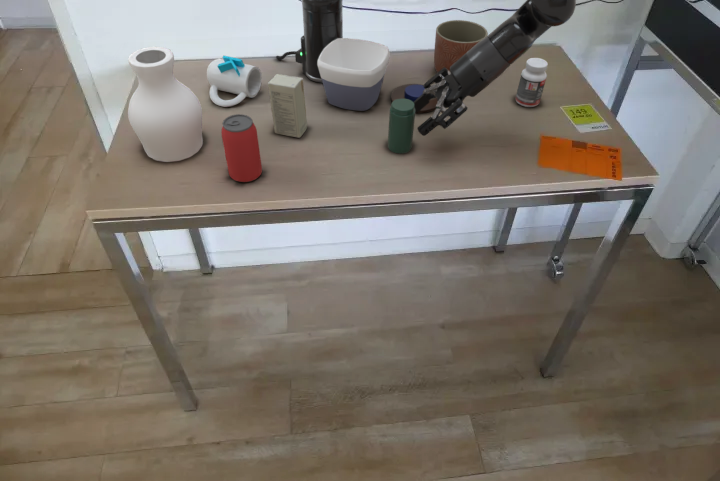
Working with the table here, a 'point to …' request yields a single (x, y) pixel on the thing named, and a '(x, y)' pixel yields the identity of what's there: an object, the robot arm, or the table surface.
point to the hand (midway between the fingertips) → (416, 120)
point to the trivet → (399, 94)
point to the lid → (413, 92)
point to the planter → (455, 41)
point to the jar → (401, 126)
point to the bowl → (353, 72)
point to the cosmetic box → (288, 105)
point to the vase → (163, 108)
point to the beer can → (241, 148)
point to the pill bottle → (532, 82)
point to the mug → (233, 80)
